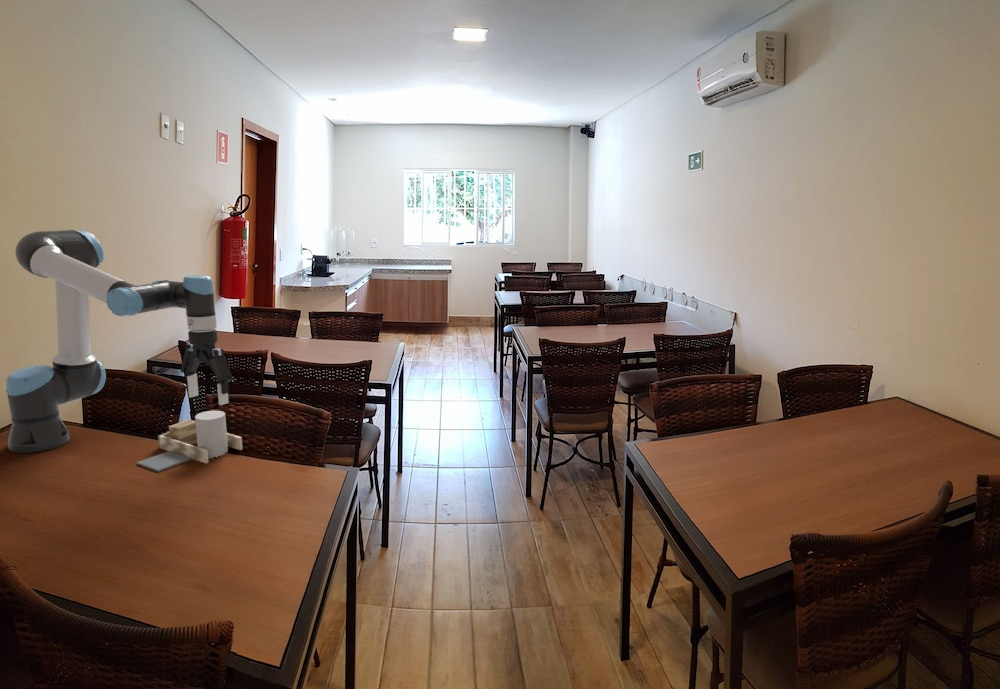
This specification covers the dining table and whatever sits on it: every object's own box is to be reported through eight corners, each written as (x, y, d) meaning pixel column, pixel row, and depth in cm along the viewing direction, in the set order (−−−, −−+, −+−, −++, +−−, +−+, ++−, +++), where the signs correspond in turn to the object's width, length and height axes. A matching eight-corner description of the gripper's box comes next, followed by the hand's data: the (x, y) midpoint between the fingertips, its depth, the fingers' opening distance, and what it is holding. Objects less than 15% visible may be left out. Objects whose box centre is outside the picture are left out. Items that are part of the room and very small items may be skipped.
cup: (233, 448, 190) (230, 411, 188) (218, 459, 183) (215, 420, 180) (208, 446, 191) (205, 409, 189) (192, 457, 183) (189, 418, 181)
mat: (137, 464, 178) (136, 462, 177) (169, 452, 186) (169, 450, 186) (158, 472, 173) (158, 470, 173) (191, 459, 181) (191, 457, 181)
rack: (159, 447, 189) (157, 435, 188) (196, 435, 200) (195, 423, 199) (206, 463, 179) (204, 450, 178) (242, 449, 190) (241, 437, 189)
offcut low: (168, 448, 190) (167, 437, 189) (194, 438, 198) (193, 428, 197) (176, 450, 188) (175, 440, 188) (202, 441, 196) (202, 431, 195)
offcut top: (170, 437, 190) (168, 426, 189) (189, 429, 196) (188, 419, 195) (179, 439, 188) (178, 428, 187) (198, 431, 194) (197, 421, 194)
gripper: (163, 326, 181) (170, 396, 186) (219, 337, 169) (225, 410, 174) (186, 322, 187) (193, 390, 192) (242, 332, 176) (247, 403, 180)
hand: (208, 400), depth 183 cm, fingers open, 13 cm apart
